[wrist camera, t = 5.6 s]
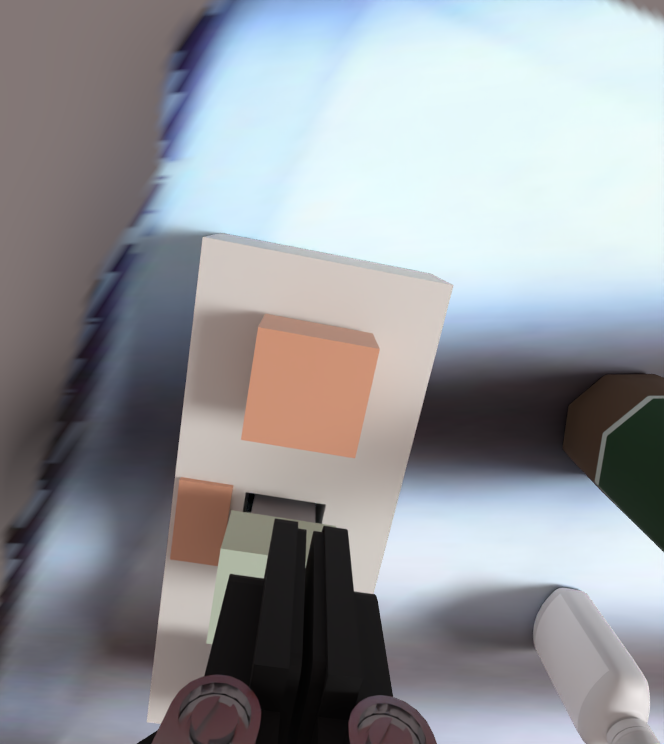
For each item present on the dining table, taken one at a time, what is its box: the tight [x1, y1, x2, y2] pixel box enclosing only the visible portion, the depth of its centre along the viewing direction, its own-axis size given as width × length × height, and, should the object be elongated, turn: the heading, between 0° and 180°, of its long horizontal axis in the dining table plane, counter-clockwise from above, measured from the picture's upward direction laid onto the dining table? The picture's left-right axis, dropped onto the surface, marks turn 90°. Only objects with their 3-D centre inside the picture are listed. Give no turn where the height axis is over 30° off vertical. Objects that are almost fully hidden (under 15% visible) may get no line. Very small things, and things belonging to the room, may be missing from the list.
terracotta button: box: [241, 314, 380, 458], centre depth 26 cm, size 5×5×8 cm
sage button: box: [206, 494, 336, 644], centre depth 27 cm, size 5×5×8 cm
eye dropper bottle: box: [533, 588, 660, 744], centre depth 31 cm, size 4×6×12 cm
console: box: [147, 233, 453, 724], centre depth 31 cm, size 30×12×5 cm, turn 169°
